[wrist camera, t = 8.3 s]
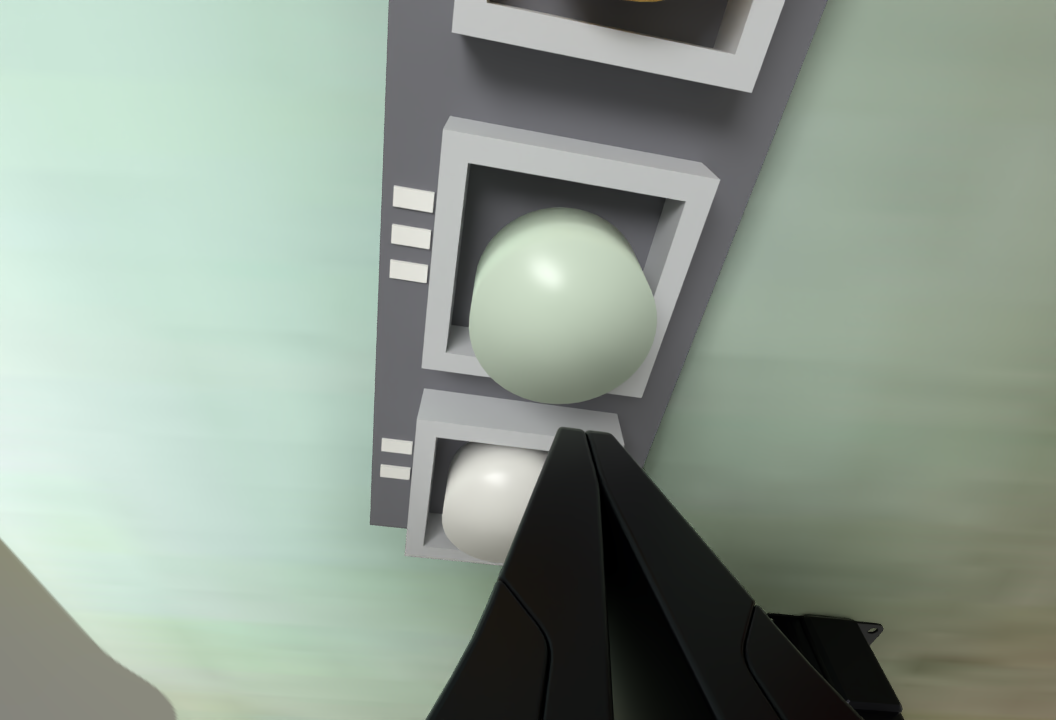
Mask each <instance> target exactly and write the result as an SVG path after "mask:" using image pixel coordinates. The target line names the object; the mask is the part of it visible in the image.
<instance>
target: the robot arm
mask: <svg viewBox="0 0 1056 720" xmlns="http://www.w3.org/2000/svg"><path fill="white" fill-rule="evenodd" d="M754 605H755V601H754V599H753V598H752V597H751V596H750V595H749V594H748V592H747V591H746V590H745V589H744V588H743V587H742V585H741V584H740V583H739V582H738V581H737V580H736V578H735V577H734V576H733V575H732V574H731V572H730V571H729V570H728V569H727V568H726V567H725V565H724V564H723V563H722V562H721V561H720V560H719V558H718V557H717V556H716V555H715V554H714V553H713V551H712V550H711V549H710V548H709V547H708V546H707V544H706V543H705V542H704V541H703V540H702V539H701V537H700V536H699V535H698V534H697V533H696V532H695V530H694V529H693V528H692V527H691V526H690V524H689V523H688V522H687V521H686V520H685V519H684V517H683V516H682V515H681V514H680V513H679V512H678V510H677V509H676V508H675V507H674V506H673V505H672V503H671V502H670V501H669V500H668V499H667V498H666V496H665V495H664V494H663V493H662V492H661V491H660V489H659V488H658V487H657V486H656V485H655V484H654V482H653V481H652V480H651V479H650V478H649V476H648V475H647V474H646V473H645V472H644V471H643V469H642V468H641V467H640V466H639V465H638V464H637V462H636V461H635V460H634V459H633V458H632V457H631V455H630V454H629V453H628V452H627V451H626V450H625V448H624V447H623V446H622V445H621V444H620V443H619V441H618V440H617V439H616V438H615V437H614V436H613V435H612V434H611V433H608V432H602V431H594V430H588V431H586V432H585V431H583V430H582V429H578V428H570V427H559V428H558V430H557V432H556V435H555V437H554V440H553V442H552V445H551V447H550V450H549V452H548V455H547V457H546V460H545V462H544V465H543V467H542V470H541V472H540V475H539V477H538V479H537V482H536V484H535V487H534V489H533V492H532V494H531V497H530V499H529V502H528V504H527V507H526V509H525V512H524V514H523V517H522V519H521V522H520V524H519V527H518V529H517V532H516V534H515V537H514V539H513V542H512V544H511V547H510V549H509V552H508V554H507V556H506V559H505V561H504V564H503V566H502V569H501V571H500V574H499V576H498V580H497V582H496V583H495V585H494V588H493V590H492V593H491V595H490V598H489V600H488V603H487V605H486V608H485V610H484V612H483V614H482V616H481V619H480V621H479V623H478V625H477V628H476V630H475V632H474V634H473V636H472V639H471V641H470V642H469V644H468V646H467V648H466V650H465V652H464V653H463V655H462V657H461V659H460V661H459V663H458V664H457V666H456V668H455V670H454V672H453V674H452V675H451V677H450V679H449V681H448V682H447V684H446V686H445V688H444V689H443V691H442V693H441V694H440V696H439V698H438V699H437V701H436V703H435V704H434V706H433V708H432V710H431V711H430V713H429V715H428V716H427V718H426V720H904V718H903V716H902V714H901V712H902V705H901V703H900V702H899V700H898V698H897V696H896V694H895V692H894V690H893V689H892V687H891V685H890V683H889V681H888V679H887V677H886V675H885V674H884V672H883V670H882V668H881V666H880V664H879V662H878V661H877V659H876V657H875V655H874V653H873V651H872V649H871V648H870V645H871V643H872V642H873V641H874V640H875V639H876V638H877V637H878V636H879V635H880V634H881V632H882V631H883V626H882V625H881V624H878V623H869V622H858V621H854V620H851V619H845V618H834V617H824V616H813V615H805V616H795V615H784V614H774V613H768V614H766V613H765V612H764V611H763V610H762V608H761V607H760V606H758V605H756V606H754ZM770 618H772V619H773V620H771V619H770ZM872 628H877V630H875V631H873V632H868V630H869V629H872Z"/></svg>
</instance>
